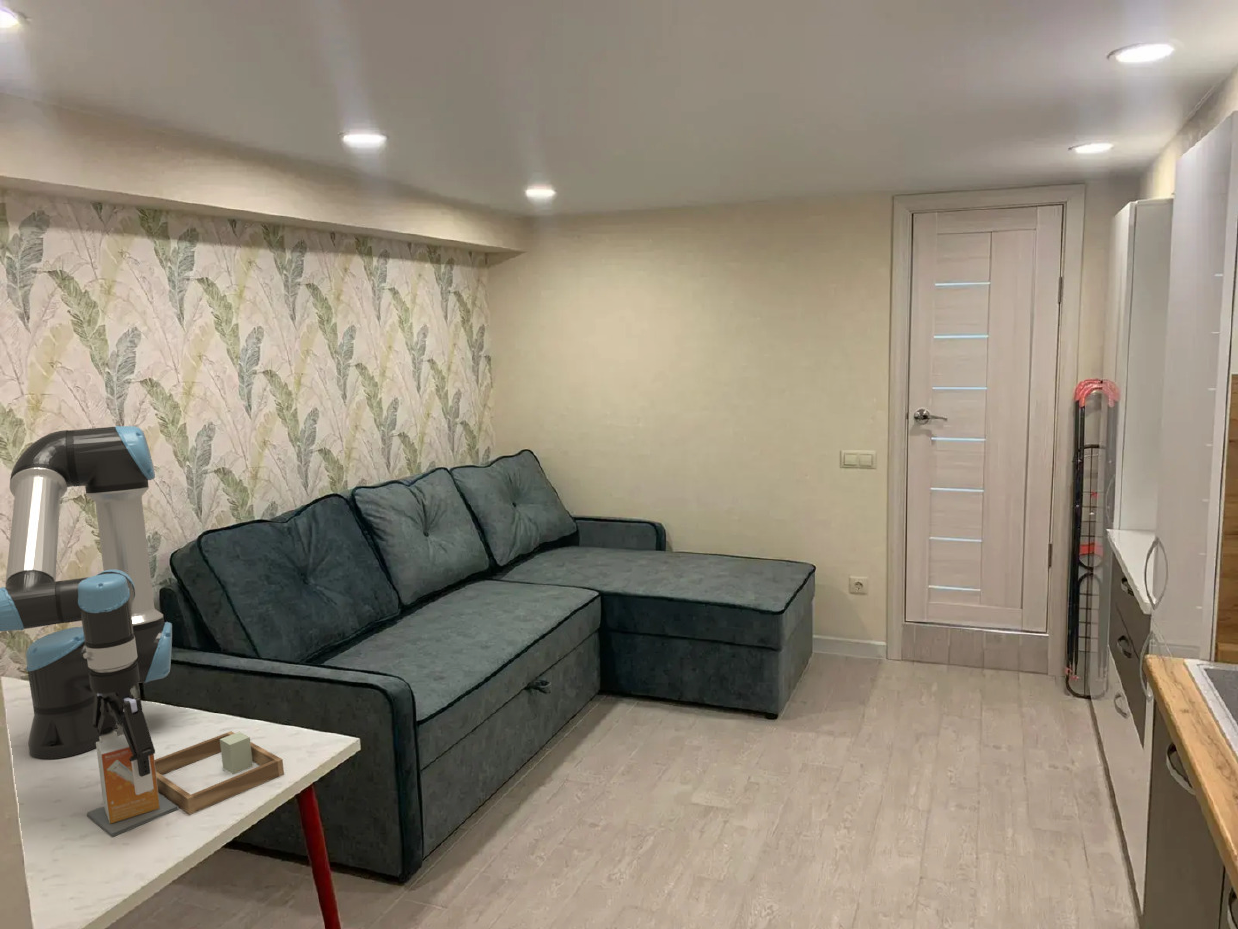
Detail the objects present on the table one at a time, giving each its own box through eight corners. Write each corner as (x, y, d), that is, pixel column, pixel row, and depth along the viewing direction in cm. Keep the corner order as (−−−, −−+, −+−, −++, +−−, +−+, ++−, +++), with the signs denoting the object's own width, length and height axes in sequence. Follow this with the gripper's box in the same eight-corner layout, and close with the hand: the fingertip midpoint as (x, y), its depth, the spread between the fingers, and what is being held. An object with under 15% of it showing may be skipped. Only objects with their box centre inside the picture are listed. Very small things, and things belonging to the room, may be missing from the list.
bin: (141, 780, 175) (139, 765, 175) (232, 745, 189) (231, 731, 188) (189, 814, 162) (187, 798, 162) (283, 774, 176) (282, 759, 175)
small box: (109, 825, 159) (100, 754, 157) (104, 810, 164) (94, 741, 162) (161, 809, 163) (152, 740, 161) (154, 795, 168) (145, 727, 166)
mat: (87, 816, 163) (86, 812, 163) (151, 790, 171) (150, 787, 171) (112, 837, 156) (111, 834, 156) (177, 809, 164) (177, 806, 164)
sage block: (222, 768, 179) (219, 739, 178) (242, 760, 182) (239, 731, 181) (233, 774, 177) (229, 745, 176) (252, 766, 179) (249, 737, 179)
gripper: (62, 655, 165) (78, 767, 168) (119, 689, 148) (135, 811, 152) (107, 643, 170) (121, 751, 174) (167, 674, 154) (181, 792, 157)
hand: (128, 779), depth 163 cm, fingers open, 13 cm apart
